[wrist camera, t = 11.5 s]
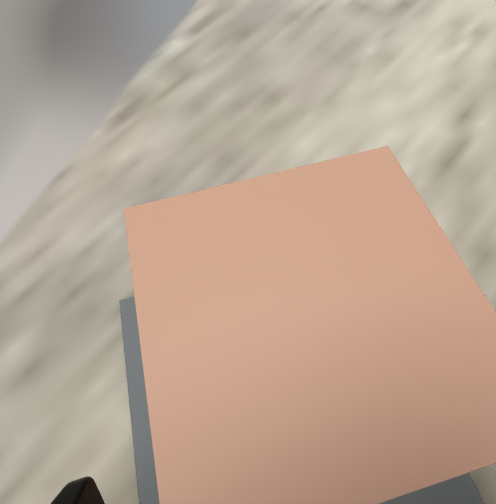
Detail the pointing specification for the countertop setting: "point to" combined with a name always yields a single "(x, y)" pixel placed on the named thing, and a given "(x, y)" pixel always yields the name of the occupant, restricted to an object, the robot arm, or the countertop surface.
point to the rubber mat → (423, 500)
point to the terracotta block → (310, 339)
